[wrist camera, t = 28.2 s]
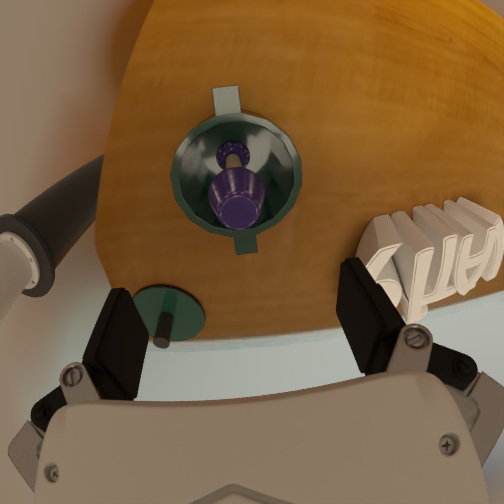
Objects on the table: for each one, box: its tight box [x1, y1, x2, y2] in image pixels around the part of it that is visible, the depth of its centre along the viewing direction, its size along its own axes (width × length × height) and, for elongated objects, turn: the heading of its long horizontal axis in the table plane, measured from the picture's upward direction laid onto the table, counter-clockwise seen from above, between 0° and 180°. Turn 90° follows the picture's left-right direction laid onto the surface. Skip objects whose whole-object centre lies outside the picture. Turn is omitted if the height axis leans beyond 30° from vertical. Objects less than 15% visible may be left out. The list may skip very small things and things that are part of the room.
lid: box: [133, 286, 205, 348], centre depth 44 cm, size 14×14×7 cm
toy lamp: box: [208, 140, 265, 230], centre depth 26 cm, size 5×5×17 cm
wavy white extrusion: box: [355, 197, 504, 324], centre depth 38 cm, size 35×16×11 cm, turn 101°
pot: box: [170, 85, 302, 255], centre depth 30 cm, size 13×18×10 cm
